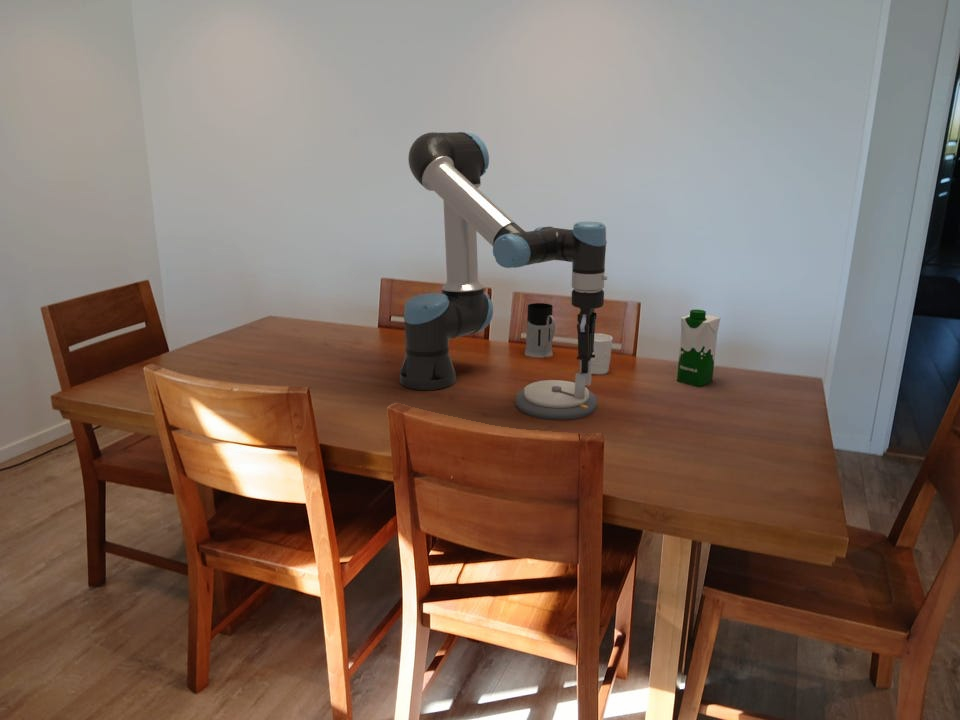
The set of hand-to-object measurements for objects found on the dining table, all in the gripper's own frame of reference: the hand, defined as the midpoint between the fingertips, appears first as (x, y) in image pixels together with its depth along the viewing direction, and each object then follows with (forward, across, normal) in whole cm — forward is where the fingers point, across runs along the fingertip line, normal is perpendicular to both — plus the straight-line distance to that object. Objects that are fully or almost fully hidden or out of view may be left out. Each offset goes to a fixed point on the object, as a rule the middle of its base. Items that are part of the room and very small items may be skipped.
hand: (585, 384), depth 177 cm
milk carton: (+7, +30, -25) cm, 40 cm away
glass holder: (+7, +39, +20) cm, 44 cm away
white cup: (+7, +30, +2) cm, 31 cm away
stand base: (+6, 0, +7) cm, 9 cm away
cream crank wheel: (+4, 0, +7) cm, 8 cm away
